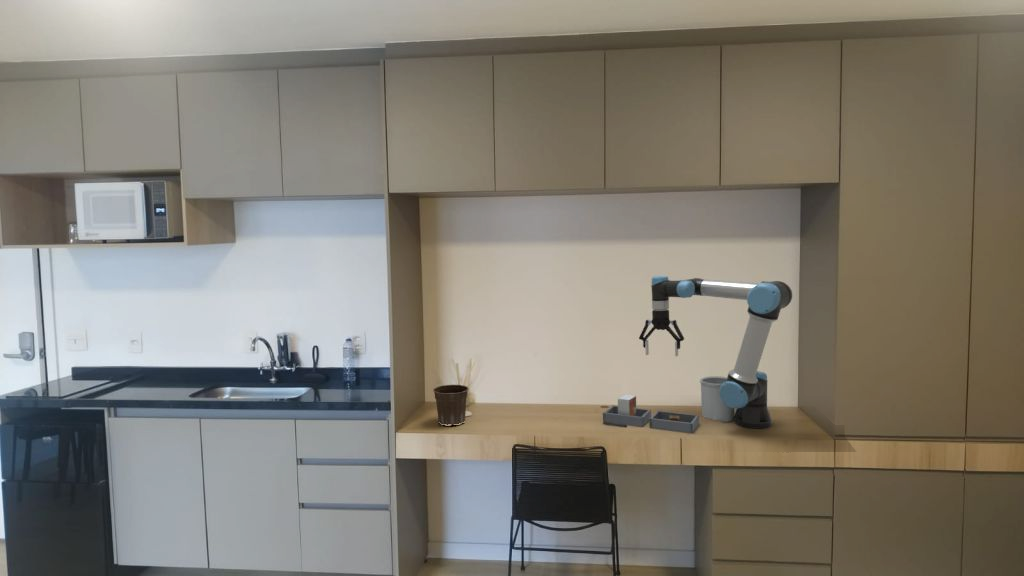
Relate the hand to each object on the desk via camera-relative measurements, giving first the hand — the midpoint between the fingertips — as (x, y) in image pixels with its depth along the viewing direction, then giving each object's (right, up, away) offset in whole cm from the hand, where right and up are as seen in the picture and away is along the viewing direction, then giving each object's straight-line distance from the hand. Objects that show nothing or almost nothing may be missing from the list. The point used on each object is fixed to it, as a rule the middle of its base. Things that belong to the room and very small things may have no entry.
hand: (661, 355), depth 270 cm
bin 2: (+1, -29, -18) cm, 35 cm away
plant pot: (-97, -32, 0) cm, 102 cm away
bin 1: (-18, -29, -8) cm, 35 cm away
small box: (-17, -28, -8) cm, 34 cm away
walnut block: (+1, -28, -18) cm, 34 cm away
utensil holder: (+24, -28, -6) cm, 37 cm away
